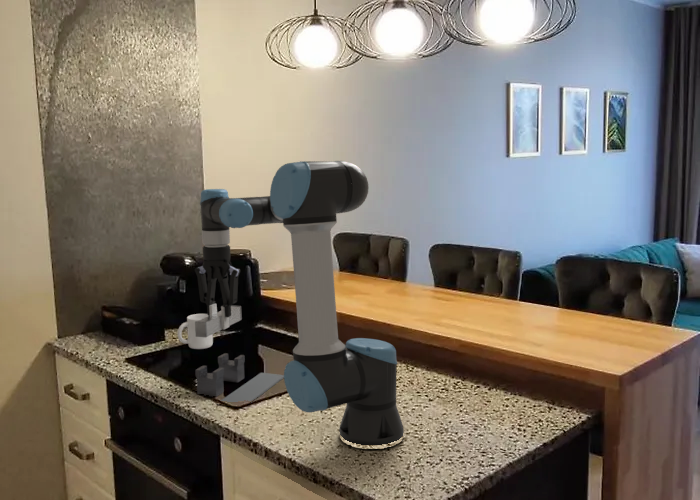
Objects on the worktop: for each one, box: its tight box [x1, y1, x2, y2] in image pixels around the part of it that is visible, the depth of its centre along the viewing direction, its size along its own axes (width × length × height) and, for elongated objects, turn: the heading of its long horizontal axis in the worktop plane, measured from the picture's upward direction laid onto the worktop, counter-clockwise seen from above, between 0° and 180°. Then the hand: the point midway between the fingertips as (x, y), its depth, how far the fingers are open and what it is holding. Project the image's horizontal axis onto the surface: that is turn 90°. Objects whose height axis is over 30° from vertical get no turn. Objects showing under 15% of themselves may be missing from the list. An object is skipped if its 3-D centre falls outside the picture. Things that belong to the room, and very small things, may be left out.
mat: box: [220, 372, 284, 402], centre depth 193 cm, size 26×8×1 cm, turn 160°
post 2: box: [217, 352, 246, 384], centre depth 202 cm, size 4×7×7 cm, turn 70°
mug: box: [177, 313, 214, 350], centre depth 234 cm, size 12×8×10 cm
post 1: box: [194, 365, 225, 398], centre depth 190 cm, size 4×7×7 cm, turn 71°
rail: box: [195, 304, 243, 337], centre depth 193 cm, size 20×3×4 cm, turn 160°
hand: (219, 327), depth 194 cm, fingers closed on rail, 3 cm apart
